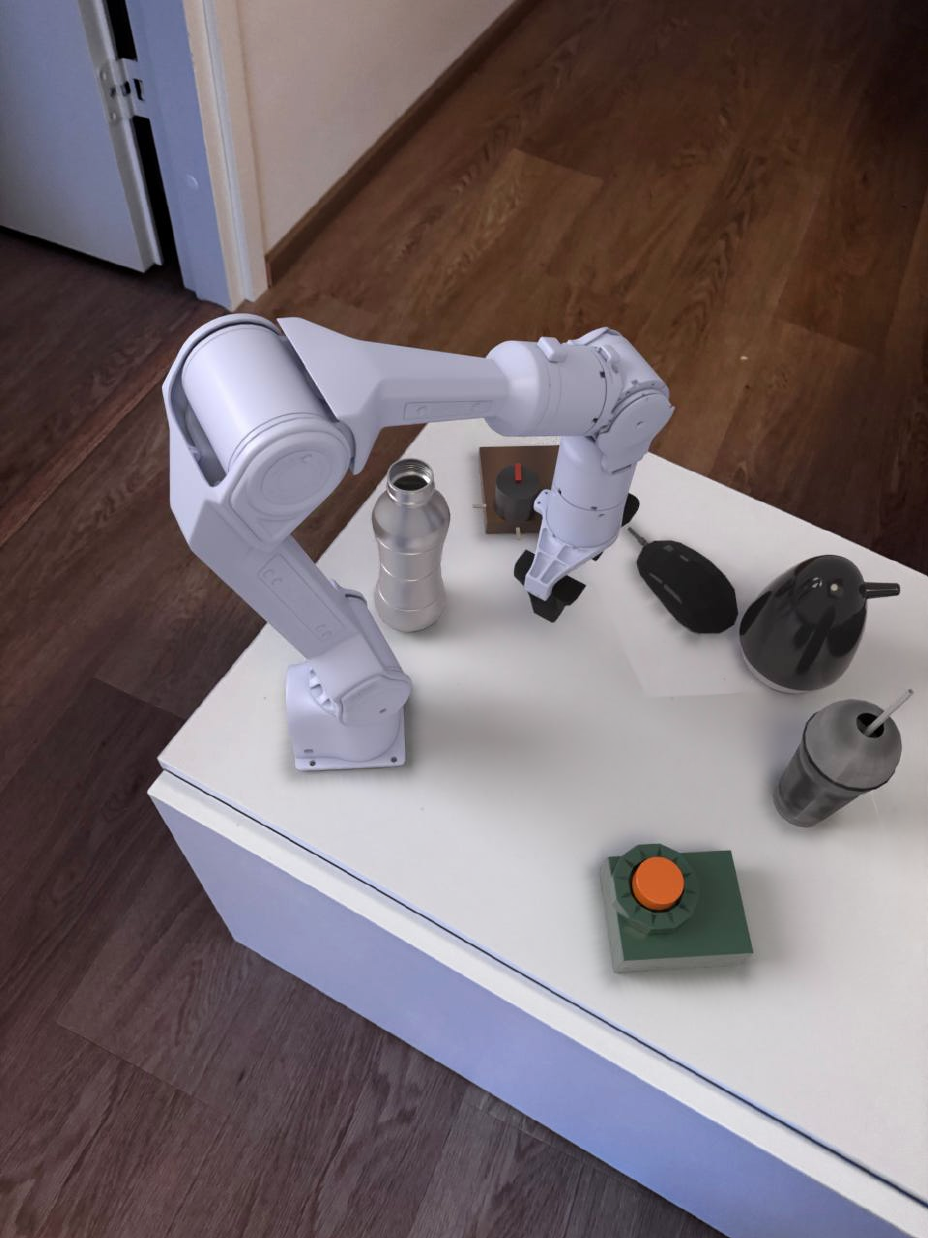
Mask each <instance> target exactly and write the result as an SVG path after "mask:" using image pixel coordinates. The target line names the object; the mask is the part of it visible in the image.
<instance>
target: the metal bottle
mask: <svg viewBox="0 0 928 1238" xmlns="http://www.w3.org/2000/svg"><path fill="white" fill-rule="evenodd" d="M371 524H372V530H373V533H374V538H375V541H376V545H377V548H378V556H379V570H378V578H377V581H376V584H375V587H374V593H373V601H374V606H375V609H376V612H377V614H378V616H379V618H380V619H381V621H382V622H383V623H384V624H385V625H387V626H388V627H390V628H391V629H393V630H397V631H399V632H405V633H406V632H407V633H414V632H419V631H422V630H425V629H427V628H429V627H430V626H432V625H433V624H434V623H436V622H437V620H438V619H439V618H440V616H441V614H442V613H443V609H444V606H445V603H446V598H447V597H446V595H447V594H446V588H445V584H444V580H443V575H442V556H443V550H444V545H445V542H446V539H447V535H448V532H449V529H450V524H451V510H450V507H449V504H448V502H447V500H446V498H445V496H444V495H443V494H442V493H441V492H440V491H439V490H438V489H436V482H435V474H434V470H433V468H432V466H431V465H430V464H429V462H426V461H425V460H423V459H420V458H416V457H406V458H405V457H404V458H400V459H398V460H396V461H395V462H393V463H392V464H391V465H390V466H389V468H388V469H387V473H386V484H385V490H384V491H383V492H382V493H381V494H380V495H379V496H378V498H377V500H376V501H375V503H374V506H373V508H372V511H371Z"/></svg>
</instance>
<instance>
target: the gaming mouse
mask: <svg viewBox="0 0 928 1238" xmlns="http://www.w3.org/2000/svg"><path fill="white" fill-rule="evenodd" d="M627 531H628V532H629V533H630V534H631V535H632V536H633V537H634V538H635V539H636V540H637V542H638V543H639V544H640V545H641V546H643V547H642V548H641V550H640V553H639V555H638V557H637V559H636V565H637V570H638V573H639V575H640V577H641V578H642V579H643V581H644V582H645V583H646V585H647V586H648V587H649V588H650V590H651V591H652V592H653V593H654V595H655V596H656V597H657V599H659V600H660V602H661V603H662V604H663V606H664V607H665V609H667V611H668V612H669V614H670V615H671V616H672V617H673V618H674V619H675V620H676V621H677V623H679V624H681V625H682V626H683V627H685V628H686V629H687V630H689V631H690V632H692V633H695V634H699V635H703V634H704V635H720V634H721V633H723V632H725V631H727V630H729V629H730V628H732V627H733V626H735V624H736V622H737V619H738V617H739V608H738V607H739V606H738V601H737V594H736V589H735V588H734V586H733V584H732V583H731V582H730V580H729V578H728V577H727V576H726V575H725V573H724V572H723V571H722V570H721V569H720V568H718V566H716V565H715V563H713V562H712V561H711V560H710V559H709V558H707V557H706V556H704V555H703V554H702V553H700V552H698V551H697V550H695V549H694V548H692V547H690V546H688V545H686V544H684V543H682V542H680V541H675V540H671V539H667V540H662V539H661V540H653V541H651V542H648V541H647V540H646V539H645V537H643V536H641V535H640V534H638V533H637V532H636V531H635V530H634V529H633V528H632V527H631V526H629V527H628V528H627Z"/></svg>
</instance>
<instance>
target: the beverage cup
mask: <svg viewBox="0 0 928 1238" xmlns="http://www.w3.org/2000/svg"><path fill="white" fill-rule="evenodd" d="M914 694H915V690H914V689H913V688H911V687H910V688H909V687H908V688H907V690H906V691H905V692H903V693H902V694H901V695H900V696H899V697H897V699H896V700H895V701H893V703H892V704H891V705H890V706H889V707H887V708H886V709H885V710H884V709H883V708H881V707H880V706H878V705H877V704H874V703H872V702H869V701H866V700H861V699H855V698H854V699H853V698H849V699H842V700H837V701H833V702H832V703H830V704H828V705H826V706H824V707H823V708H821V709H819V710H817V711H815V712H814V713H812V715H811V716H810V717H809V719H808V720H806V722H805V725H804V729H803V731H802V737H801V740H800V743H799V745H798V747H797V749H796V750H795V752H794V754H793V756H792V757H791V758H790V761H789V763H788V764H787V766H786V768H785V770H784V771H783V773H782V774H781V777H780V779H779V780H778V784H777V785H776V788H775V790H774V793H773V804H774V807H775V810H776V811H777V813H778V814H779V816H780V817H781V819H783V820H785V821H786V822H787V823H788V824H790V825H792V826H795V827H798V828H809V827H810V828H811V827H814V826H816V825H817V824H819V823H821V822H823V821H825V820H826V819H828V818H829V817H831V816H832V815H834V814H835V813H837V812H838V811H840V810H841V809H843V808H844V807H845V806H847V805H848V804H850V803H851V802H853V801H855V800H856V799H857V798H858V797H860V796H863V795H865V794H867V793H869V792H870V793H871V792H872V791H876V790H878V789H880V788H881V787H883V786H884V785H887V783H889V781H890V780H891V779H892V778H893V776H894V775H895V773H896V769H897V768H898V766H899V763H900V761H901V756H902V751H903V742H902V736H901V732H900V730H899V727H898V726H897V724H896V721H895V720H894V719H893V718H892V717H891V716H892V715H893V714H894V713H895V712H896V711H897V710H899V708H900V707H902V705H903V704H905V703H906V702H907V701H908V700H909V699H910V698H911V697H912V696H913V695H914Z"/></svg>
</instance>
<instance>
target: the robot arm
mask: <svg viewBox="0 0 928 1238" xmlns="http://www.w3.org/2000/svg"><path fill="white" fill-rule="evenodd" d="M276 321H277V322H278V325H279V326H280V327H281V329H282V331H283V332H284V334H283V333H282V331H281V330H280V328H279V327H278V326H277V325H276V324H274V323H273V322H272V321H270V320H269V319H267V318H265V317H264V316H260V315H256V314H252V313H232V314H231V313H230V314H226V315H223V316H219V317H216V318H214V319H211V320H210V321H208V322H205V324H203V325H201V326H200V327H199V328H197V329H196V330H195V331H194V332H193V333H192V334H190V335H189V337H187V339H186V340H185V341H184V342H183V344H182V346H181V348H180V349H179V351H178V353H177V355H176V357H175V359H174V361H173V363H172V365H171V367H170V370H169V372H168V374H167V376H166V378H165V380H164V382H163V384H162V386H161V390H162V396H163V401H164V407H165V411H166V417H167V421H168V422H167V423H168V427H169V503H170V510H171V511H172V513H173V515H174V518H175V520H176V522H177V525H178V526H179V529H180V531H181V533H182V535H183V537H184V539H185V541H186V543H187V545H188V547H189V549H190V550H191V552H192V553H193V554H195V556H197V558H199V560H201V561H202V562H203V563H204V564H205V565H206V566H207V567H208V568H209V569H210V570H212V572H213V573H215V575H217V576H218V577H219V578H220V579H221V581H223V582H224V583H225V584H226V585H227V586H228V587H229V588H230V589H232V591H234V592H235V593H236V594H237V595H238V596H239V597H240V598H241V599H242V600H243V601H244V602H245V603H247V605H249V607H251V608H252V610H254V611H255V612H256V613H257V614H258V615H259V616H260V617H261V618H262V619H263V620H265V622H266V623H267V624H269V626H271V627H272V628H273V629H274V630H275V631H276V632H277V634H279V635H280V636H281V637H282V638H284V639H285V640H286V641H287V643H288V644H290V645H291V646H292V647H293V648H294V649H295V650H296V651H297V652H298V653H299V654H300V655H301V656H303V657H304V658H305V660H306V661H304V662H299V663H291V664H289V665H287V668H286V677H285V711H286V722H287V729H288V733H289V737H290V741H291V747H292V750H293V753H294V759H295V760H294V765H295V768H296V770H298V771H301V772H302V771H303V772H304V771H305V772H306V771H323V770H324V771H325V770H326V771H327V770H345V769H369V768H371V769H372V768H392V767H403V766H404V765H405V764H406V761H407V760H406V759H407V756H406V737H405V735H406V734H405V712H404V711H405V709H404V705H405V704H406V702H407V701H408V699H409V697H410V695H411V693H412V690H413V681H412V679H411V677H410V676H409V675H408V674H407V673H406V672H405V671H404V670H403V668H402V666H401V664H400V662H399V661H398V659H397V657H396V655H395V653H394V652H393V650H392V648H391V646H390V644H389V643H388V641H387V639H386V637H385V635H384V634H383V632H382V631H381V628H380V627H379V625H378V623H377V621H376V619H375V618H374V616H373V614H372V613H371V611H370V609H369V607H368V601H367V599H366V598H365V596H364V594H363V593H361V592H360V591H358V590H356V589H351V588H346V587H343V586H341V585H340V584H339V583H338V582H337V580H335V579H330V580H329V579H328V577H326V575H325V574H324V573H323V572H322V570H321V569H320V567H318V566H317V564H316V563H315V562H314V560H312V558H311V557H310V556H309V555H308V554H307V553H306V551H305V550H304V549H303V547H302V546H301V545H300V544H299V542H298V541H297V540H296V539H295V538H294V537H293V536H292V534H291V533H293V532H294V530H296V528H297V527H299V525H301V524H302V523H303V522H304V521H305V520H306V519H307V518H308V517H309V516H310V515H311V514H312V513H313V512H314V511H315V510H316V509H318V507H319V506H321V504H322V503H323V502H324V501H325V500H326V499H327V498H328V497H330V496H331V494H332V493H333V492H334V491H335V490H336V489H337V488H338V486H339V485H340V484H341V482H342V481H343V479H344V478H345V476H346V474H347V472H348V470H350V473H351V474H352V475H353V476H356V475H358V474H360V473H361V472H363V469H364V468H365V466H366V464H367V462H368V459H369V457H370V454H371V453H372V450H373V448H374V445H375V443H376V440H377V439H378V436H379V434H380V433H381V431H382V430H383V429H385V428H388V427H398V426H399V427H400V426H410V425H421V424H432V423H441V422H443V423H444V422H452V421H464V420H474V419H476V420H477V419H483V420H484V421H485V423H486V424H487V426H488V427H489V428H490V429H491V430H492V431H493V432H495V433H496V434H498V435H500V436H502V437H506V438H511V437H512V438H515V437H516V438H517V437H518V438H526V437H527V438H530V437H531V438H532V437H560V441H559V445H560V446H559V451H558V457H557V462H556V467H555V472H554V477H553V482H552V488H551V490H548V489H546V490H543V491H542V492H541V493H540V495H539V496H538V497H537V499H536V500H535V502H534V510H535V511H537V512H538V513H540V514H542V516H543V520H542V525H541V529H540V532H539V534H538V539H537V544H536V549H535V553H534V552H532V551H530V550H528V549H524V551H523V552H522V553H521V555H520V556H519V557H518V559H517V560H516V561H515V564H514V568H513V577H514V578H515V579H516V580H517V581H518V582H519V583H520V584H521V585H522V586H523V590H524V591H526V592H527V594H528V597H529V601H530V605H531V609H532V612H533V614H534V615H536V616H538V617H540V618H541V619H544V620H546V621H548V622H549V623H552V624H554V623H556V621H557V620H558V619H559V618H560V616H561V614H562V613H563V611H564V610H565V607H571V606H572V605H573V604H574V603H575V602H576V601H577V600H578V599H579V598H580V596H581V594H582V593H583V591H584V590H585V589H586V587H587V584H585V583H583V582H581V581H580V580H578V579H575V578H574V577H572V576H570V575H569V574H570V573H572V572H573V571H575V570H577V569H578V568H580V567H582V566H583V565H585V564H586V563H588V562H590V560H592V561H594V562H597V561H598V560H599V559H600V558H601V556H602V555H603V553H604V552H605V551H606V550H608V549H609V548H610V547H612V545H613V544H614V543H615V542H616V541H617V540H618V537H619V535H620V532H621V529H622V528H623V527H625V526H627V524H630V523H631V521H632V520H633V518H634V517H635V515H636V514H637V512H639V508H640V506H641V503H640V500H639V498H638V497H637V496H636V495H635V494H633V493H630V489H631V486H632V483H633V479H634V476H635V472H636V469H637V465H638V462H641V461H642V460H643V458H644V456H645V455H646V454H648V453H649V450H650V446H651V443H652V442H653V440H654V438H655V437H656V436H657V435H658V434H659V433H660V432H661V431H662V430H663V429H664V427H665V426H666V424H668V422H669V421H670V419H671V418H672V416H673V414H674V412H675V409H676V406H674V405H672V404H671V402H670V400H669V399H670V390H669V387H668V386H667V384H666V383H665V382H664V380H663V378H661V377H660V376H659V375H658V373H657V372H656V371H655V370H654V369H653V368H652V366H651V365H650V364H649V363H648V362H647V361H646V360H645V358H644V357H643V356H642V355H641V354H640V352H639V351H638V350H637V349H636V348H635V347H634V346H633V345H632V343H631V342H630V341H629V340H628V339H627V338H626V337H624V336H623V334H621V333H620V332H619V331H618V330H615V329H611V328H610V327H608V326H604V327H600V328H596V329H594V330H592V331H591V330H590V331H589V332H588V333H586V334H584V335H582V336H581V337H579V338H577V339H568V340H567V341H566V342H562V343H560V342H559V340H558V338H556V337H549V336H541V337H539V340H538V341H524V340H506V341H503V342H501V343H499V344H497V345H495V346H494V347H493V348H492V349H491V350H490V351H489V353H488V354H487V355H486V356H485V357H480V356H472V355H466V354H459V353H452V352H444V351H437V350H431V349H423V348H417V347H409V346H403V345H396V344H390V343H389V344H388V343H382V342H374V341H367V340H361V339H356V338H353V337H350V336H347V335H345V334H342V333H339V332H338V331H335V330H332V329H330V328H328V327H325V326H322V325H319V324H317V323H314V322H312V321H309V320H307V319H304V318H301V317H297V316H296V317H295V316H290V317H280V318H279V317H277V318H276ZM393 759H394V760H396V761H392V760H393ZM312 763H314V765H312Z"/></svg>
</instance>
